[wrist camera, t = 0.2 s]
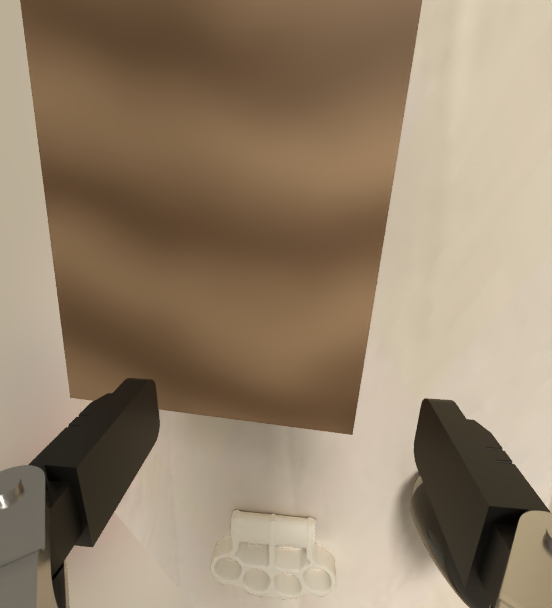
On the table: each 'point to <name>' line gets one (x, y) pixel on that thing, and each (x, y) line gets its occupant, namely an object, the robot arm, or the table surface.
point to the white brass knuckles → (274, 557)
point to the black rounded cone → (441, 547)
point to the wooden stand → (220, 194)
